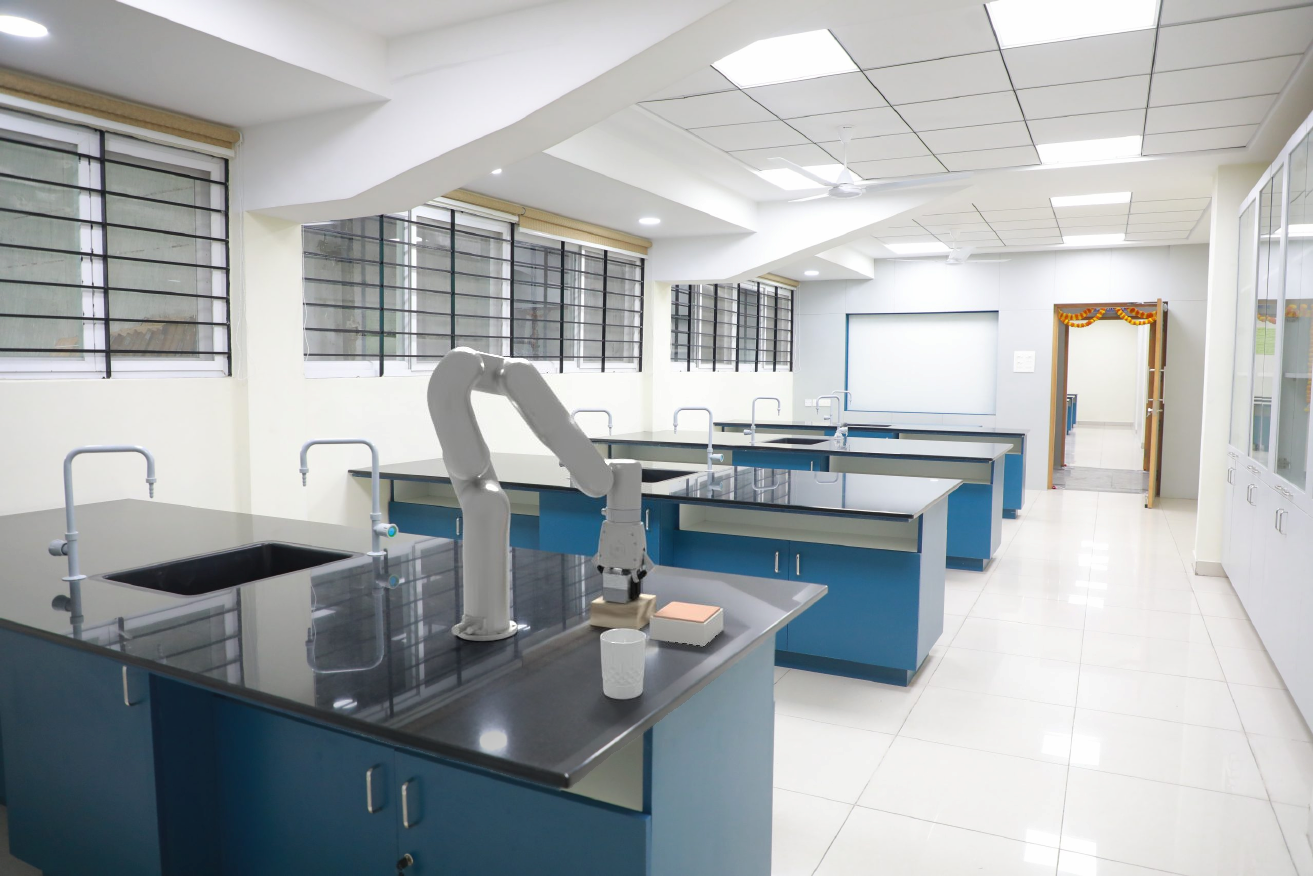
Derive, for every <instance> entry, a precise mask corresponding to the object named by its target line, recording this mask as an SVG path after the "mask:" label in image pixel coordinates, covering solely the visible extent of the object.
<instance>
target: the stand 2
mask: <svg viewBox="0 0 1313 876" xmlns="http://www.w3.org/2000/svg"><path fill="white" fill-rule="evenodd" d="M723 630H724V608H721V606H720V607H719V606H713V605H705V604H698V603H697V604H696V603H688V602H680V601H674V600H673V601H671V602H669V603H668V604H667V605H665V606H664V607H662V608H661V609H659V610H657V612H656V613H655V614H653V615H652V616H651V617H650V622H649V639H650V640H654V641H655V640H656V641H661V642H662V641H663V642H668V641H669V642H668V643H675V642H678V643H677V644H682V643H687V644H686V645H689V644H693V645H692V646H696V645H700V646H699V647H703V646H705V645H706V644H707V643H708V642H709V643H710V642H711V641H712V640H714V639H715V636H716V635H717V636H718V635H719V634H720V633H721V632H722V631H723ZM709 643H708V644H709ZM708 644H707V645H708ZM707 645H706V646H707ZM706 646H705V647H706Z"/></svg>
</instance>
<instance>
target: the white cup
mask: <svg viewBox="0 0 1313 876" xmlns="http://www.w3.org/2000/svg"><path fill="white" fill-rule="evenodd" d="M599 639H600V660H601V661H600V663H601V677H602V687H603V688H602V690H603V691H602V692H603V694H604V696H606V697H608V698H611V699H616V700H629V699H635V698H638V697H639V696H641V695H642V693H643V691H644V676H645V665H646V649H647V647H646V646H647V634H646V633H645V632H643V631H640V630H634V629H617V628H612V629H609V630H606V631H603V632H602V633H601V634H600V637H599Z"/></svg>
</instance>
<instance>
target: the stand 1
mask: <svg viewBox="0 0 1313 876" xmlns="http://www.w3.org/2000/svg"><path fill="white" fill-rule="evenodd" d="M657 597H658V596H657V595H655V594H647V593H641V595H640V596H639V598H637V599H635V600H631V601H629V602H627V603H619V602H612V601H605V600H603V595H601V596H599V597H597V598H595V599H594V600H592V601H590V603H589V605H590V607H589V608H590V610H589V611H590V616H589V617H590V620H589V622H590V623H589V624H590V625H591V626H596V627H602V628H603V627H604V628H609V629H634V630H638V631H640V630H641V629H642V628H643V627H645V626H646V625H647V624H650V617H651V616H652V615H653V614H655V613H656V612H658V609H657V606H658V605H657V604H658V603H657V601H658V599H657ZM640 628H641V629H640Z"/></svg>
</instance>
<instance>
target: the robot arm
mask: <svg viewBox="0 0 1313 876" xmlns="http://www.w3.org/2000/svg"><path fill="white" fill-rule="evenodd" d="M472 391H475V392H479V393H485V394H491V395H496V396H501V397H502V396H503V397H506V398H507V400H508V401H509V403H511V405H512V406H513V407H514V409H515V410H516V411H517V414H518V415H519V416H520V417H521V418H522V420H523V421H524V422H525V425H527V426H528V428H529V429H530V430H531V432H532V433H533V434H534V436H535V437H536V438H537V439H538V440H539V441H540V442H541V444H543V445H544V446H545V447H546V448H547V449H549V451H550V452H551V453H553V454H554V455H555V456H556V457H557V459H558V461H560V463H562V465H563V466H564V467H565V469H566V470H567V471H568V473H569V476H570V481H571V483H572V484H573V486H574V487H575V488H576V489H578V491H581V493H583V494H584V495H586V496H588V497H591V498H601V497H604V496H606V507H605V508H602V509H601V515H603V516H605V520H603V521H602V523H601V527H600V528H601V529H600V533H599V534H600V535H599V540H598V549H597V552H596V553H595V554H594V556H593V557H592V558H591V559H590V561H591V563H592V564H593V566H594V567H595V568H597V569H596V570H597V571H598V572H599V573H600V574H601V578H603V573H605V572H607V571H609V570H611V569H613V568H618V569H627V570H631V574H632V577H633V582H631V600H635V599H637V598H639V596H640V594H642V580H644V578H645V577H646V576H647V575H648V574H649V573H651V572H652V571H653V570H654V569H655V568H656V565H655V563H654V562H653V560H651V558H650V557H649V555H648V553H647V551H648V550H647V537H646V530H645V524H644V522H643V521H641V520H642V484H643V483H642V478H643V474H642V473H643V467H642V463H641V462H640V461H639V460H636V459H634V458H633V459H631V458H629V459H628V458H617V459H604V457H603V455H602V454H601V453H600V451H599V449H597V448H596V446H595V445H594V444H593V442H592V441H591V439H590V438H589V437H588V436H587V435H586V434H585V432H584V431H583V429H582V428H581V426H579V424H578V423H577V421H576V420H575V419H574V418H573V416H572V415H571V414H570V413H569V411H568V410H567V408H566V407H565V406H564V405H563V403H562V402H561V400H560V399H559V398H558V397H557V395H556V393H554V391H553V390H552V388H551V387H550V386H549V384H548V383H547V381H546V380H545V379H544V377H543V376H542V374H541V373H540V372H539V370H538V369H537V368H536V366H534V365H533V363H531V362H530V361H529V360H527V359H525V358H521V357H520V358H518V357H517V358H515V357H514V358H513V357H506V356H505V357H504V356H500V355H495V354H489V353H484V352H480V351H478V350H477V351H476V350H474V349H472V348H470V347H468V346H457V347H456V348H452V349H451V350H449V351H447V352H446V353H445V355H444V356H443V357H442V359H441V360H440V361H439V363H438V364H437V365H436V367H435V368H434V370H433V372H432V373H431V376H430V378H429V381H428V385H427V391H426V392H427V393H426V402H427V407H428V411H429V415H430V418H431V422H432V425H433V427H434V430H435V433H436V434H435V435H436V436H437V439H438V442H439V445H440V447H441V449H442V450H441V451H442V461H443V463H444V466H445V469H446V471H447V473H448V477H449V479H450V482H451V485H452V487H453V489H454V493H455V496H456V497H457V500H458V503H459V506H460V509H461V511H462V565H463V566H462V567H463V569H462V570H463V573H462V574H463V575H462V576H463V582H462V583H463V584H462V587H463V590H462V591H463V615H461V621H460V623H457V624H455V625H453V626H452V628H451V633H452V635H453V636H458V637H459V638H460V639H463V640H468V641H473V642H474V641H475V642H476V641H477V642H486V641H487V642H489V641H496V640H503V639H506V638H509V637H511V636H514V635H515V634H516V633H517V631H518V624H517V623H516V622H515V621H513V620H511V619H510V618H511V615H510V613H511V606H510V605H511V603H510V598H511V597H510V596H511V595H510V593H511V592H510V591H511V589H510V586H511V584H510V583H511V582H510V578H511V577H510V569H511V568H510V533H511V532H510V529H511V528H510V527H511V516H512V514H511V511H512V510H511V503H510V499H509V497H508V495H507V493H506V492H505V491H504V490H503V488H502V486H501V484H500V482H499V480H498V479H499V478H498V476H497V473H496V472H495V468H494V466H493V463H492V460H491V451H490V449H489V447H488V445H487V443H486V440H485V439H484V436H483V434H482V431H481V429H480V426H479V423H478V421H477V417H476V414H475V411H474V408H473V404H472V398H471V395H472ZM644 566H645V568H644V569H642V568H641V567H644Z"/></svg>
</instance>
